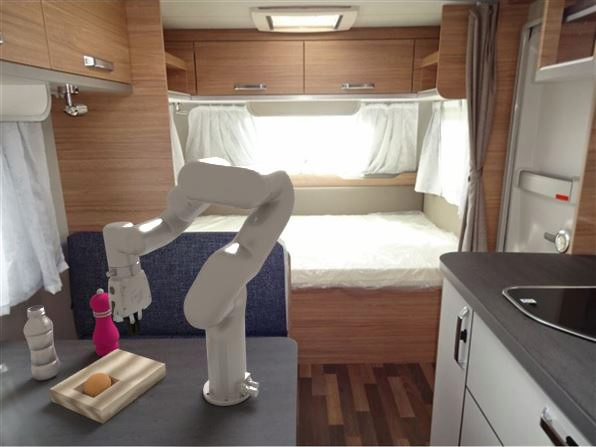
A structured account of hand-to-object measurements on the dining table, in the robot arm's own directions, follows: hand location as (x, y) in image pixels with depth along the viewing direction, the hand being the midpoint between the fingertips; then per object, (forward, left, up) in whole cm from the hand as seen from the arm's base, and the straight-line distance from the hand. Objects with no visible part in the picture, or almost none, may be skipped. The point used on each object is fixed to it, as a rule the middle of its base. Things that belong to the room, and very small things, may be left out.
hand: (135, 334), depth 107 cm
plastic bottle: (+21, +12, -12) cm, 27 cm away
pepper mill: (+17, -4, -12) cm, 21 cm away
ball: (+1, +12, -8) cm, 15 cm away
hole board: (+1, +8, -11) cm, 14 cm away
